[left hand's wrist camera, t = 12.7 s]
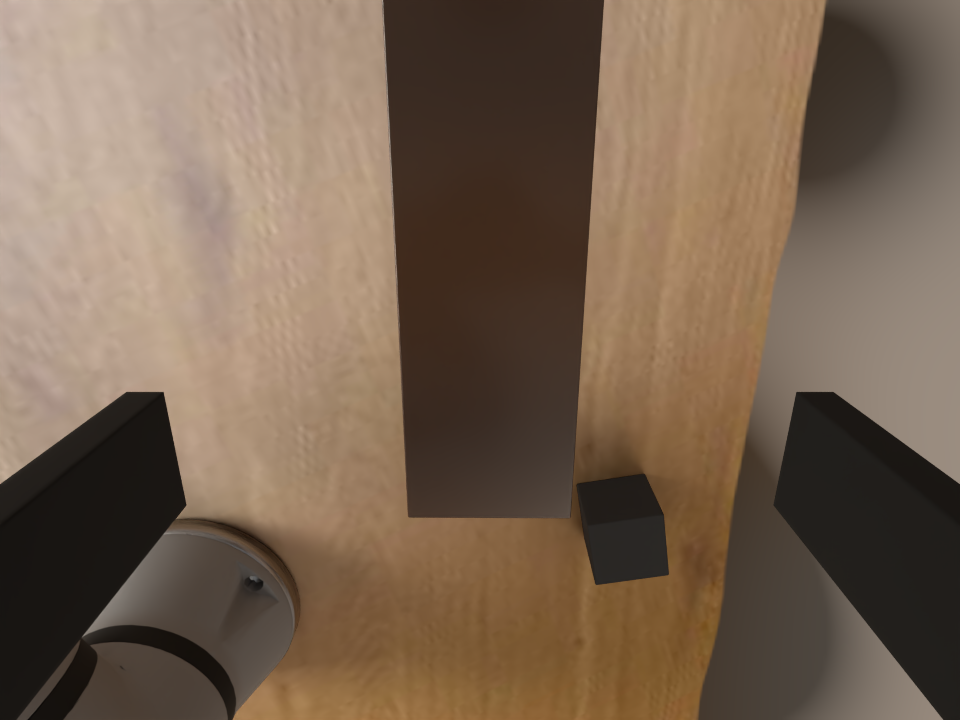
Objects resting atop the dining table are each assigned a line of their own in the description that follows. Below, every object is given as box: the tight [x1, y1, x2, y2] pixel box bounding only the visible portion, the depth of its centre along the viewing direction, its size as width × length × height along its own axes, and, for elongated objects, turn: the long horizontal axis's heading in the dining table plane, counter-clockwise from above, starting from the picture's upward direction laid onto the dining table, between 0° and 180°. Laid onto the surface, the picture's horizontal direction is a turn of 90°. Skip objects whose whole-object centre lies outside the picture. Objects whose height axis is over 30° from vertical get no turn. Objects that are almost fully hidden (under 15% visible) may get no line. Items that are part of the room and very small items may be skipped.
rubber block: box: [577, 474, 669, 585], centre depth 42 cm, size 5×5×5 cm
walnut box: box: [382, 0, 604, 518], centre depth 18 cm, size 26×5×9 cm, turn 0°
